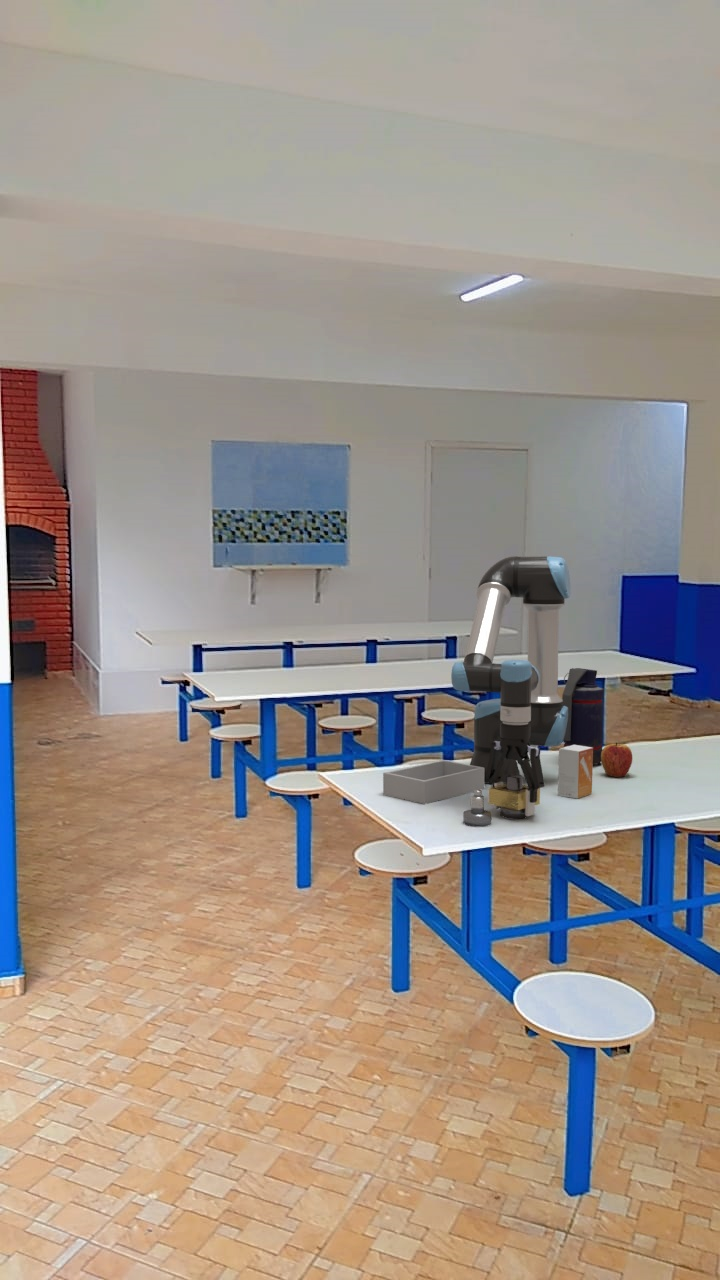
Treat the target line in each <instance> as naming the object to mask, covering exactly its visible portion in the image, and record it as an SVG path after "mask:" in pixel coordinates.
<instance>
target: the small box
mask: <svg viewBox="0 0 720 1280" xmlns="http://www.w3.org/2000/svg"><path fill="white" fill-rule="evenodd" d="M593 765H594V764H593V747H586V746H579V745H571V746H567V747H564V746H563V747H561V748H559V749H558V771H557V773H558V775H557V776H558V778H557V779H558V781H557V796H558V797H559V796H561V797H566V798H572V799H581V798H584V797H585V796H586V797H587V796H589V795H592V794H593V767H594V766H593Z"/></svg>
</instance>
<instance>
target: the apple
mask: <svg viewBox="0 0 720 1280" xmlns="http://www.w3.org/2000/svg"><path fill="white" fill-rule="evenodd" d="M632 763H633V754H632V750H631V748H630V746H628V745H627V744H624V743H623V744H618V742H615V743H611V744H610V743H609V744H607V745H605V746H604V747H602V752H601V765H602V768H603V769H604V770H603V771H604V772H605V774H607V775H608V776H611V777H614V778H615V777H616V778H622V777H625V776H626V775H628V773H629V772H630V768H631V766H632Z"/></svg>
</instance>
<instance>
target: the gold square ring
mask: <svg viewBox="0 0 720 1280" xmlns="http://www.w3.org/2000/svg"><path fill="white" fill-rule="evenodd" d="M527 789H528V785H527V784H523V789H522V790H520V791H512V790H507V789H506V783H503V785H499V786H495V787H492V786H491V787H489V788H488V804H489V805H493V806H494V805H497V806H501V807H506V808H510V809H515V810H520V809H524V808H526V790H527ZM540 798H541V788H538V790H537V802H535V806H537V805H540V802H541V801H540V800H541V799H540Z"/></svg>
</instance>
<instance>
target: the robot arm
mask: <svg viewBox="0 0 720 1280" xmlns="http://www.w3.org/2000/svg"><path fill="white" fill-rule="evenodd" d="M570 579H571V578H570V572H569V567H568V564H567V561H566V560H565V559H564V558H563V557H559V556H549V555H548V556H545V555H544V556H514V555H513V556H508V557H504V558H503V559H501V560H499V561H497V562H495V563H494V564H493V565H492V566H490V568H489V569H488V570H487V571H486V572H485V573H484V575H483V576H482V577H481V580H480V581H479V584H478V586H477V591H476V597H477V599H478V602H477V606H476V609H475V610H476V611H475V614H474V617H473V623H472V625H471V629H470V633H469V634H470V635H469V638H468V642H467V646H466V650H465V654H464V657H463V661H460V662H459V661H457V662H454V664H453V666H452V669H451V672H450V673H451V674H450V675H451V679H450V680H451V685H452V688H453V689H454V690H456V691H462V692H470V693H471V692H473V693H474V692H476V693H496V694H497V693H499V694H500V698H492V699H486V700H482V701H479V702H477V704H475V706H474V717H473V721H474V722H473V723H474V724H473V725H474V727H473V745H474V746H473V754H472V757H471V760H470V761H469V762H470V763H469V765H472V766H478V767H483V768H484V784H492V785H491V787H495V786H499V785H503V784H506V776H507V775H521V771H522V774H523V778H524V779H525V782H526V786H528V789H527V790H526V813H525V816H528V817H530V816H534V815H535V813H536V812H535V811H536V810H535V806H536V805H535V802H537V790H538V788H540V789H542V788H544V787H545V780H544V775H543V774H544V773H543V767H542V762H541V748H540V747H544V748H546V747H560V745H562V744H563V743H564V740H563V739H564V736H565V732H566V727H567V721H568V707H566V706H563V699H562V697H561V696H560V695H559V693H558V692H559V691H558V688H559V686H558V685H559V683H558V681H559V628H560V627H559V626H560V621H559V619H560V610H561V609H562V608H563V607H564V605H565V600H567V599H569V598H570V597H571V580H570ZM512 598H522V605H523V606H524V607H525V608H526V609H527V612H528V613H527V659H525V660H524V659H507V660H503V661H502V662H501V663H493V661H494V657H495V652H496V649H497V645H498V644H497V643H498V640H499V634H500V630H501V625H502V622H503V617H504V612H505V608H506V606H507V605H508V604H509V603H510V601H511V599H512ZM534 746H537V747H534ZM519 766H520V769H521V771H520V769H519ZM493 809H494V810H498V809H500V806H497V805H493Z"/></svg>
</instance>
